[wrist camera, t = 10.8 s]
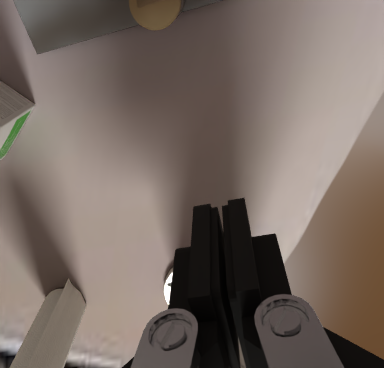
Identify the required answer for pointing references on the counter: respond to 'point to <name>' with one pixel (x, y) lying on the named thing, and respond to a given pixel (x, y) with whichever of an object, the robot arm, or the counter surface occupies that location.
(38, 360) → the paper towel roll
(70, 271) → the counter surface
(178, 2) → the bar
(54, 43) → the wooden gate latch
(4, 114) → the skincare box
